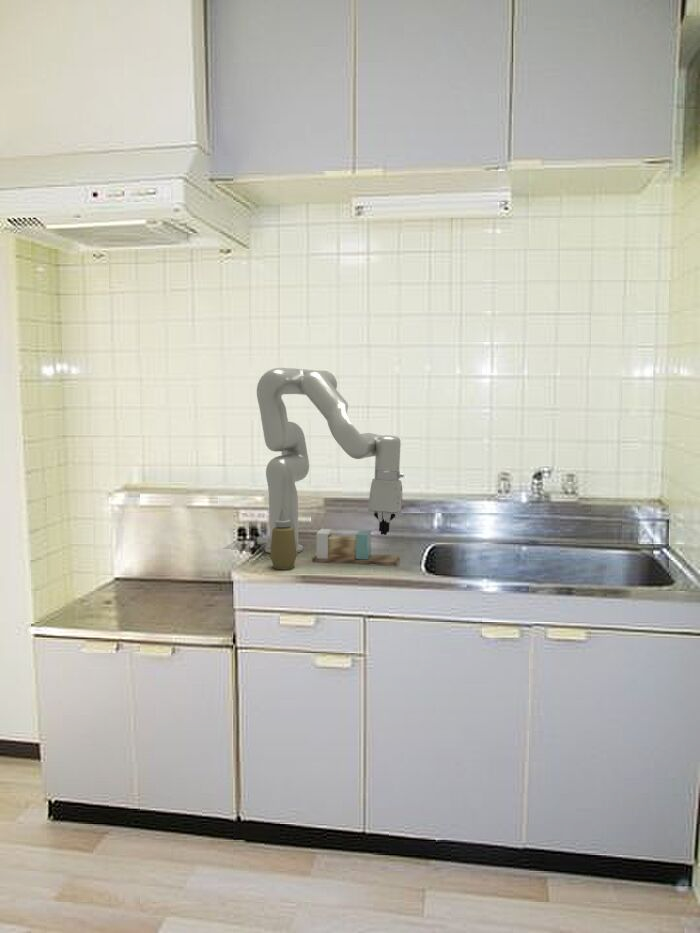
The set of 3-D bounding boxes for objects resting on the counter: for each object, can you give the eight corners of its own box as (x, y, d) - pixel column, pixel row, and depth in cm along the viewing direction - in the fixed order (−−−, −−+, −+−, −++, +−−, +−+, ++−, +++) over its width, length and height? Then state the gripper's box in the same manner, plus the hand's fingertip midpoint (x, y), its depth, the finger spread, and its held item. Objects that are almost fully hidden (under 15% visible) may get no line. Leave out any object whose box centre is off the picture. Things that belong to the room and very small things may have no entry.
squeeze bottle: (292, 571, 219) (292, 511, 217) (266, 570, 220) (265, 510, 218) (300, 565, 227) (299, 506, 225) (274, 563, 228) (274, 506, 226)
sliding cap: (356, 558, 229) (356, 534, 228) (359, 553, 236) (359, 530, 235) (367, 559, 228) (367, 535, 227) (370, 554, 235) (370, 530, 234)
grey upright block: (316, 558, 231) (316, 533, 230) (321, 553, 238) (321, 528, 237) (327, 558, 231) (327, 533, 230) (332, 553, 237) (332, 529, 237)
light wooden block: (320, 557, 233) (320, 538, 232) (323, 554, 236) (323, 535, 236) (364, 559, 230) (364, 540, 229) (366, 556, 234) (366, 537, 233)
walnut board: (312, 561, 231) (312, 554, 230) (319, 555, 239) (319, 548, 239) (395, 565, 226) (395, 558, 226) (399, 558, 235) (399, 551, 234)
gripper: (412, 475, 231) (409, 533, 233) (364, 472, 234) (362, 529, 236) (409, 479, 224) (406, 538, 226) (360, 475, 226) (358, 534, 229)
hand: (383, 533), depth 231 cm, fingers closed
